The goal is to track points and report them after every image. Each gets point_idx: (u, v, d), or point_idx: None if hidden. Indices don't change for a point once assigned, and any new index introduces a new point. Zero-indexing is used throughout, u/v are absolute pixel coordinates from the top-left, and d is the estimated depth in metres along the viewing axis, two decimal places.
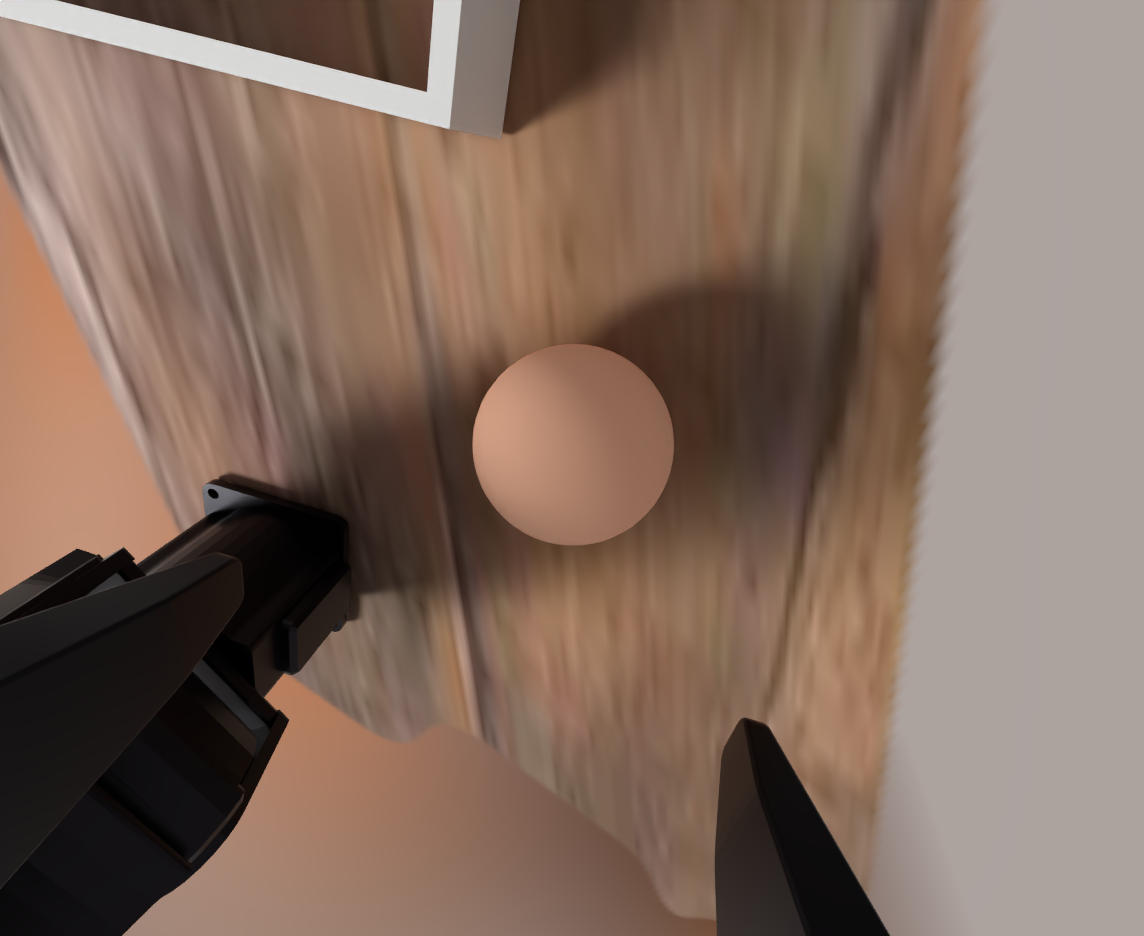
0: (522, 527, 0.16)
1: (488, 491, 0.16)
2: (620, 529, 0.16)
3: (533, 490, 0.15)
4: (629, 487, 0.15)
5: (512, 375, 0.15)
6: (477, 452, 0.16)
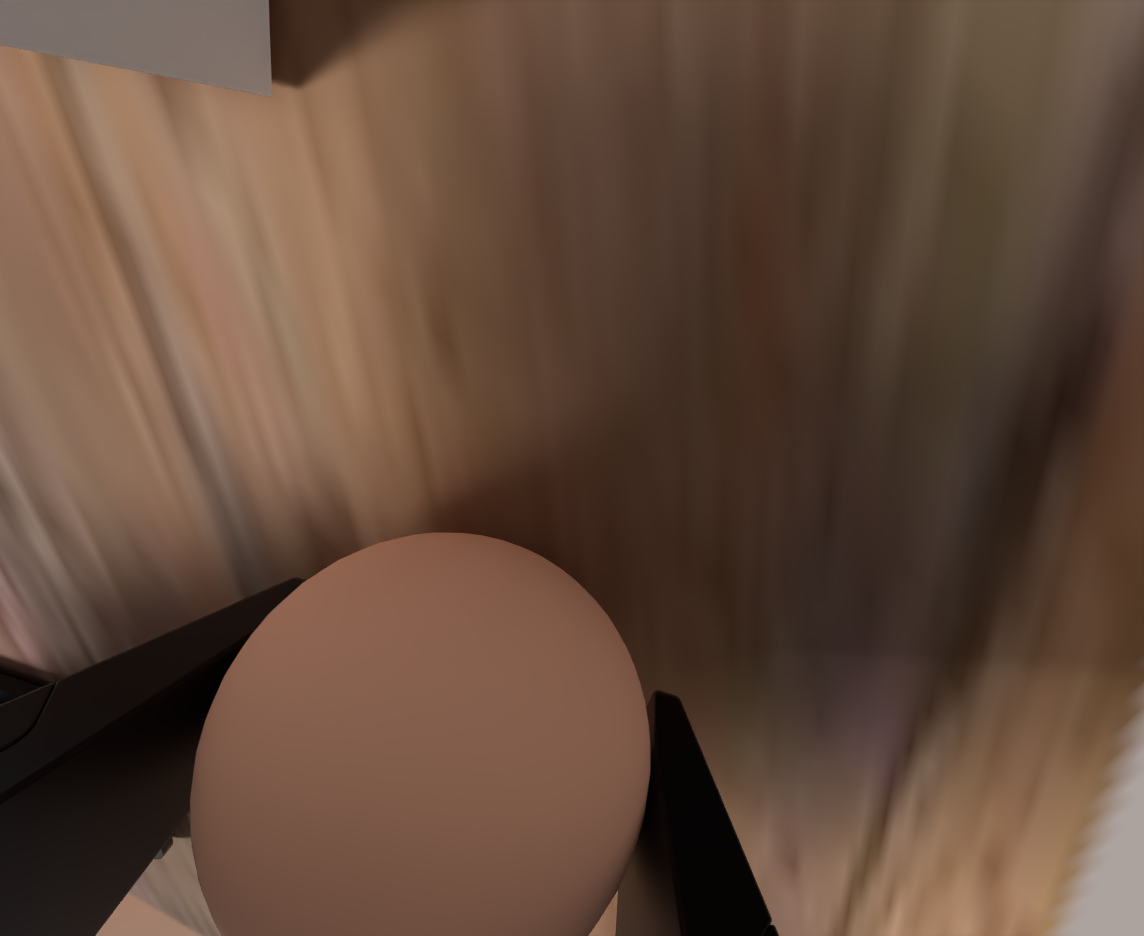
0: None
1: None
2: None
3: None
4: None
5: (262, 651, 0.06)
6: None
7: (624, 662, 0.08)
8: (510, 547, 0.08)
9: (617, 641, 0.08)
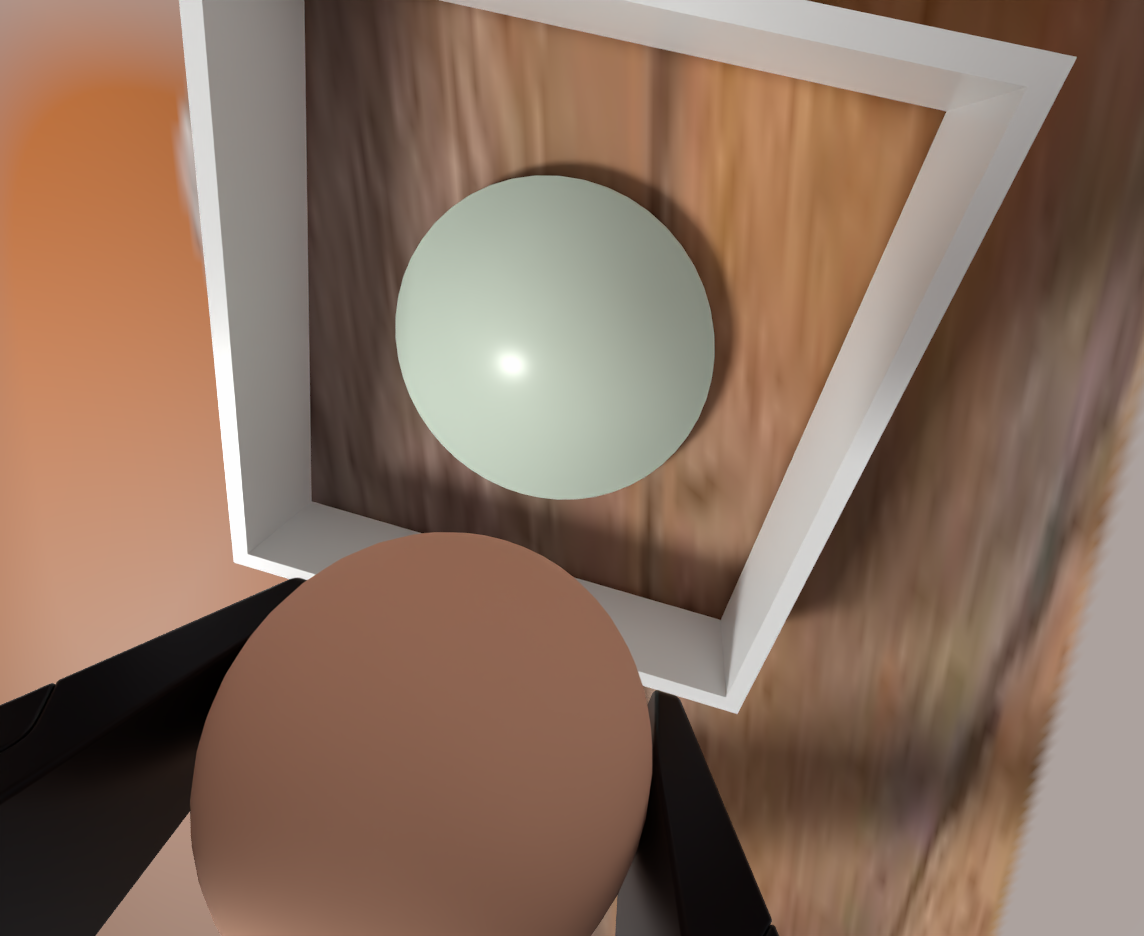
0: None
1: None
2: None
3: None
4: None
5: (263, 652, 0.06)
6: None
7: (626, 663, 0.07)
8: (512, 547, 0.08)
9: (619, 642, 0.08)
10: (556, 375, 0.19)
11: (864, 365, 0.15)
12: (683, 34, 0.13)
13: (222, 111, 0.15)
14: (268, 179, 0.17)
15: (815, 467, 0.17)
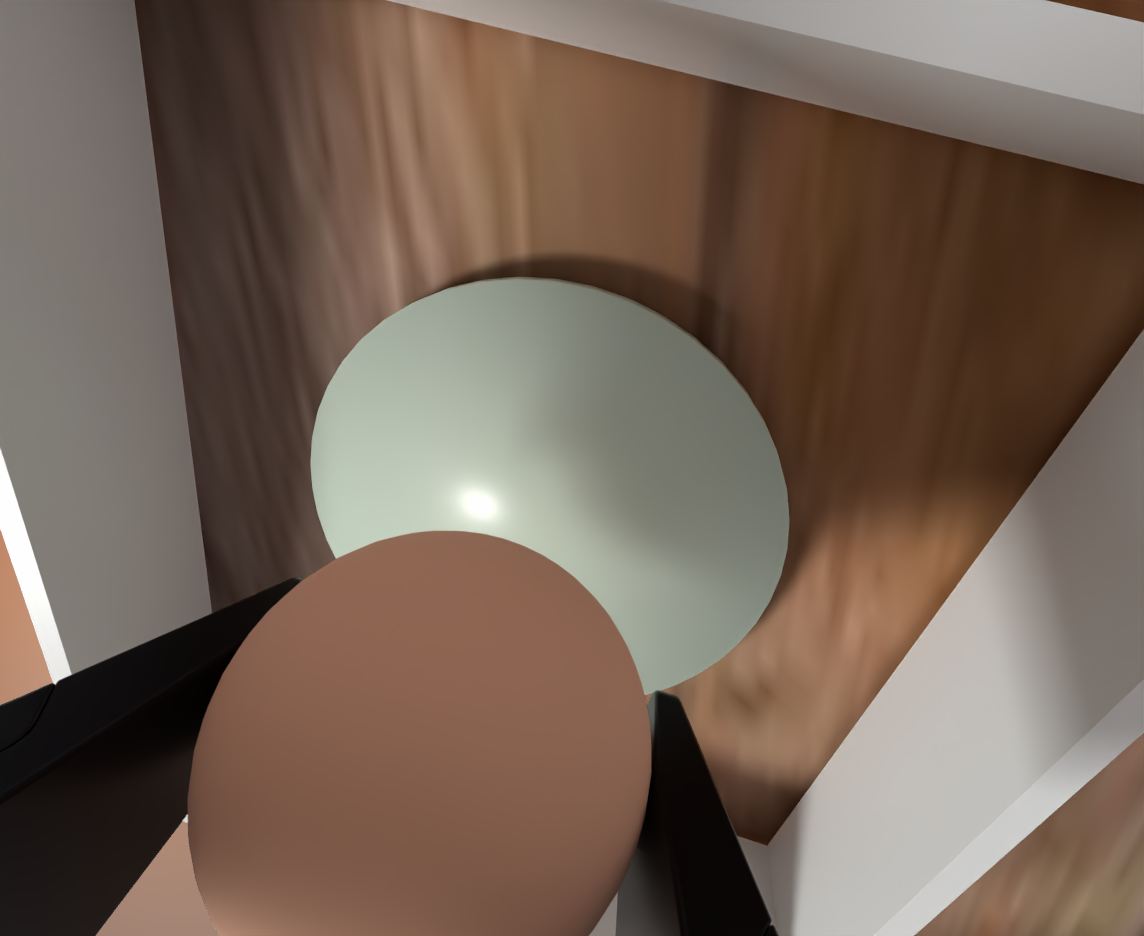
0: None
1: None
2: None
3: None
4: None
5: (260, 650, 0.06)
6: None
7: (625, 661, 0.07)
8: (511, 545, 0.08)
9: (618, 640, 0.08)
10: (546, 554, 0.13)
11: (1058, 623, 0.09)
12: (790, 70, 0.07)
13: None
14: (83, 280, 0.10)
15: (948, 742, 0.11)
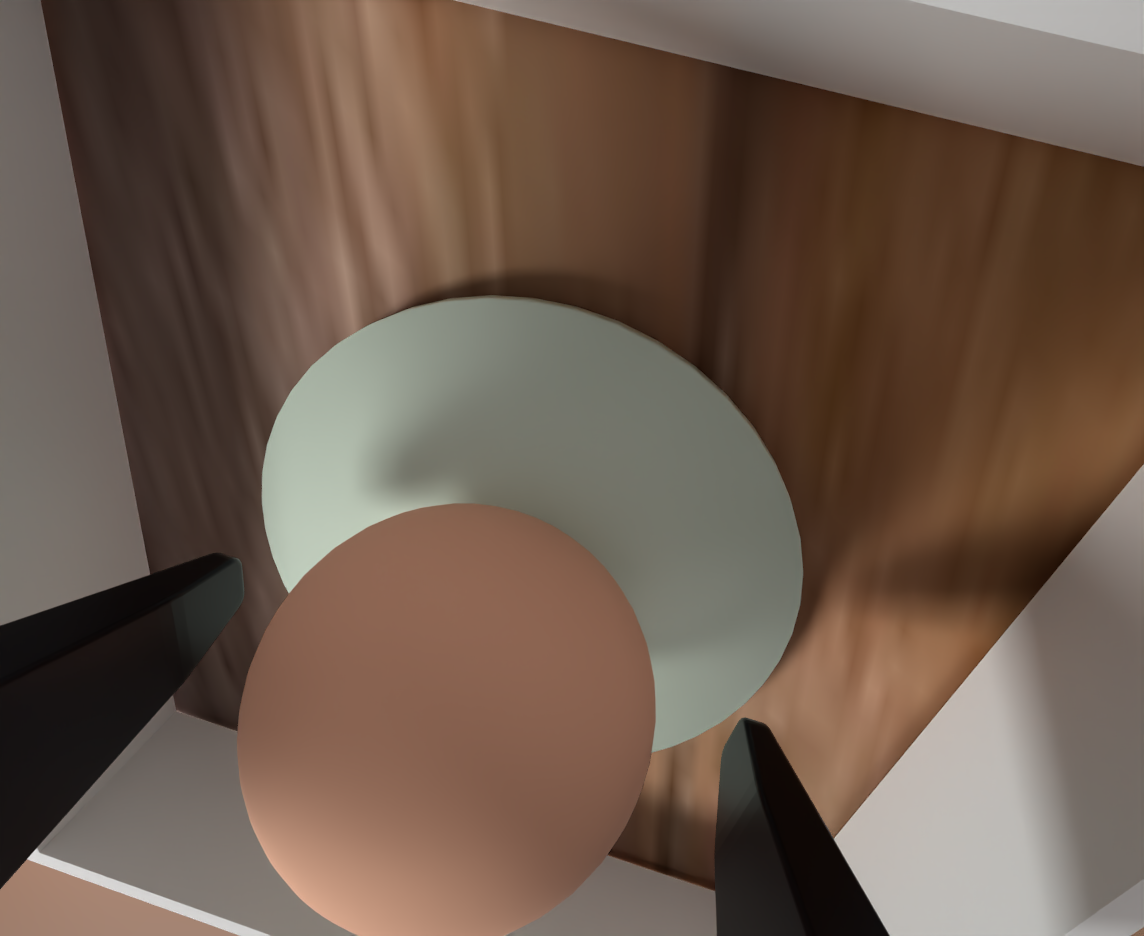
0: None
1: None
2: None
3: (323, 901, 0.06)
4: (548, 881, 0.06)
5: (303, 604, 0.07)
6: (238, 756, 0.07)
7: (632, 620, 0.08)
8: (525, 516, 0.09)
9: (625, 601, 0.08)
10: None
11: (1126, 712, 0.08)
12: (816, 46, 0.05)
13: None
14: None
15: (988, 834, 0.09)
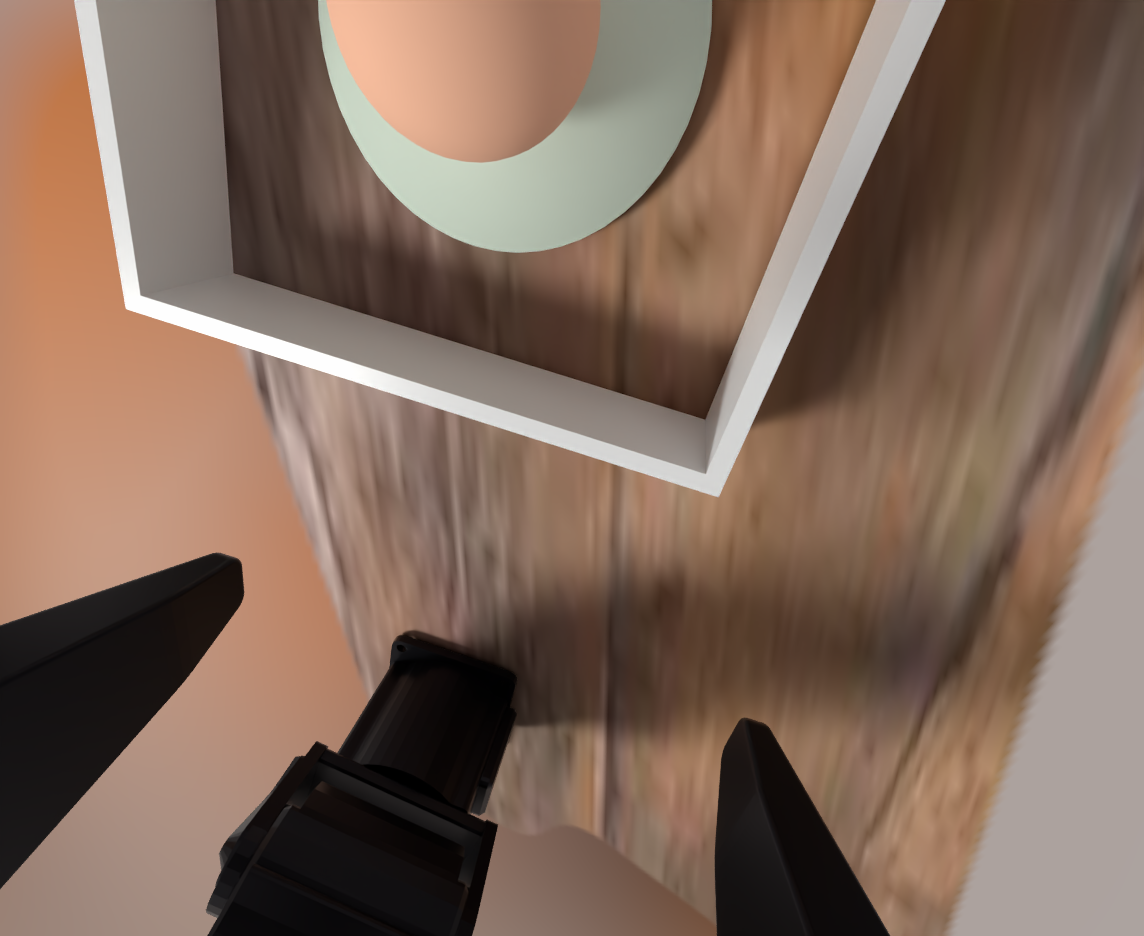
0: (387, 82, 0.12)
1: (340, 29, 0.12)
2: (520, 88, 0.12)
3: None
4: None
5: None
6: None
7: None
8: None
9: None
10: None
11: None
12: None
13: None
14: None
15: (831, 151, 0.14)
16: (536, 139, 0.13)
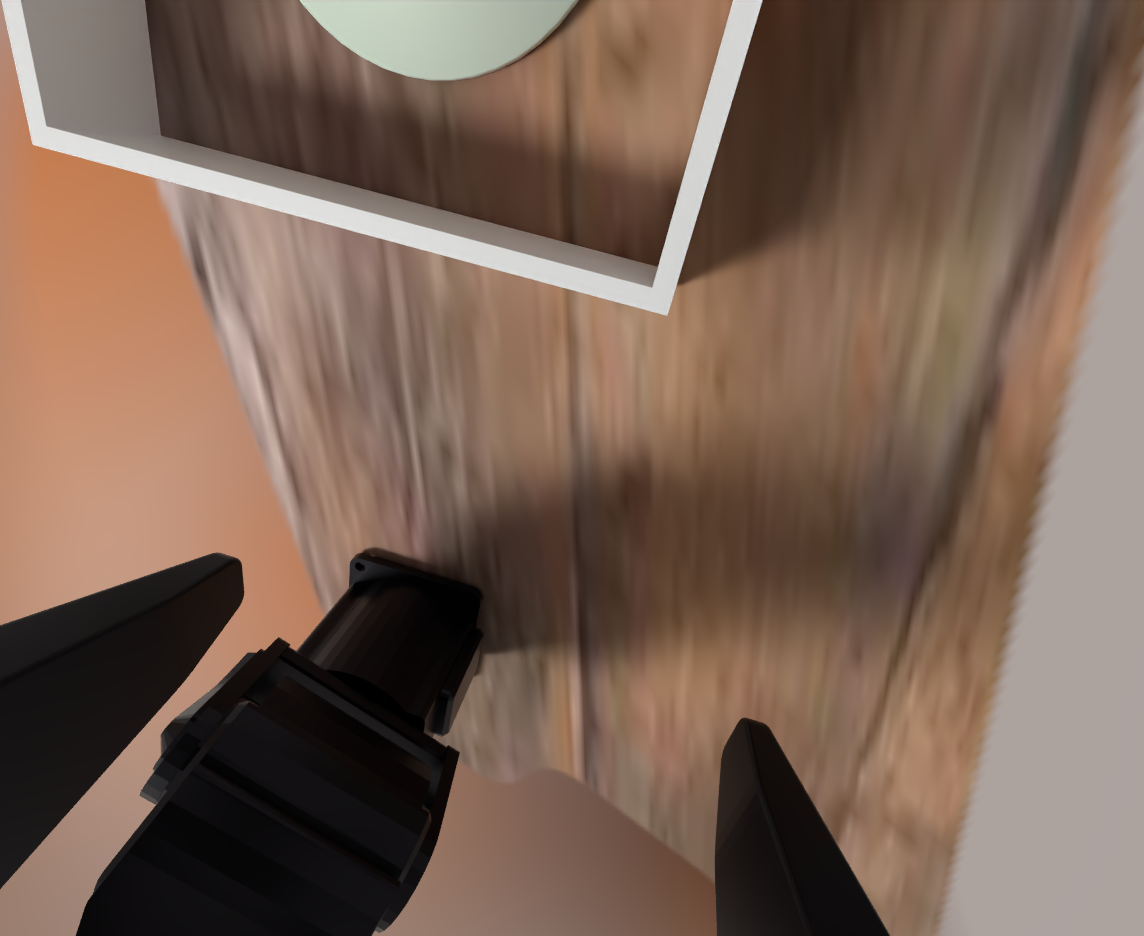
0: None
1: None
2: None
3: None
4: None
5: None
6: None
7: None
8: None
9: None
10: None
11: None
12: None
13: None
14: None
15: None
16: None
